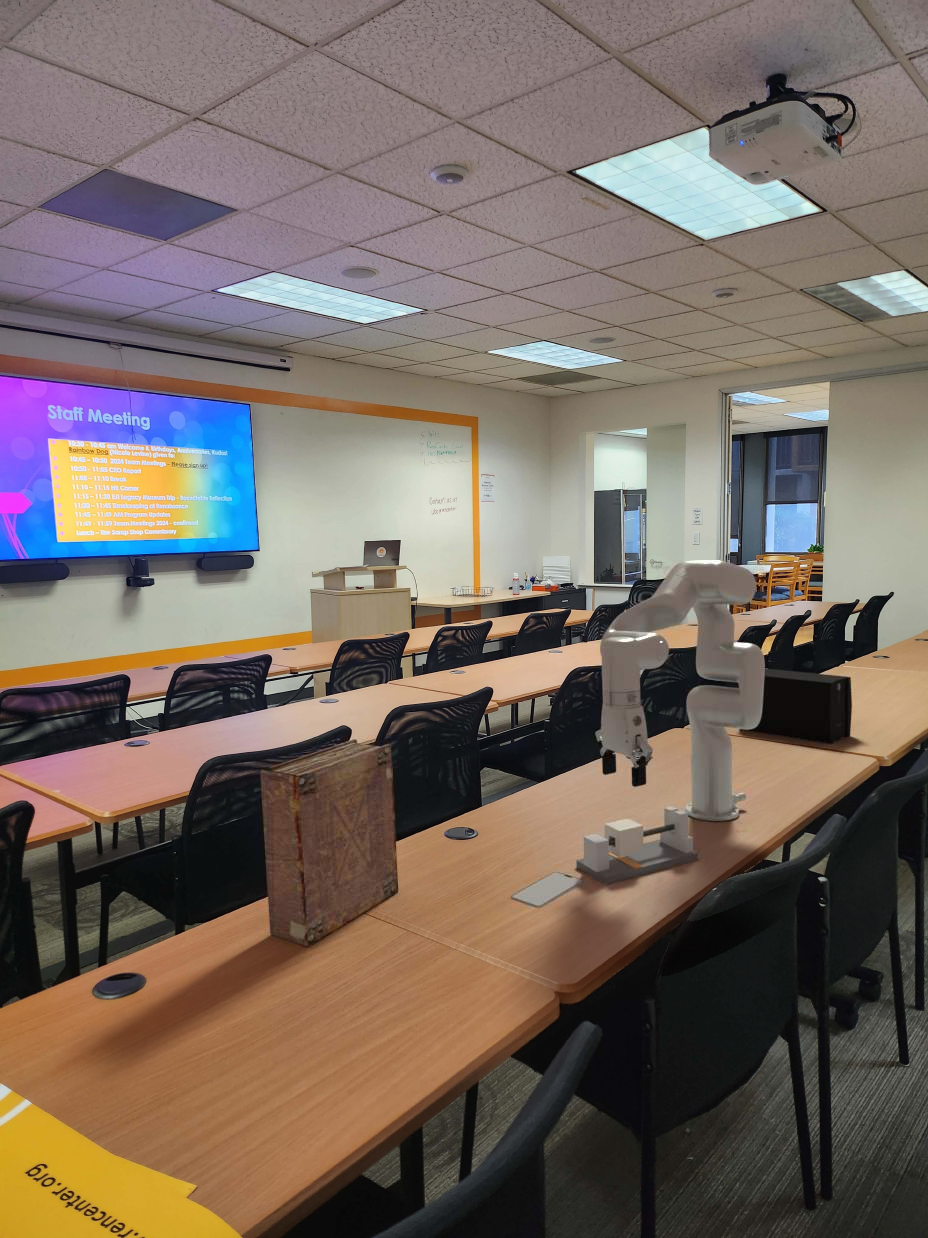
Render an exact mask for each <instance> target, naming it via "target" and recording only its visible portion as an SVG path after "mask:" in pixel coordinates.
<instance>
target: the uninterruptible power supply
mask: <svg viewBox="0 0 928 1238" xmlns="http://www.w3.org/2000/svg"><path fill="white" fill-rule="evenodd" d="M851 678H852V676H845V675H844V676H843V675H835V674H834V675H833V674H823V673H813V672H805V671H804V672H802V671H792V670H782V669H774V668H772V669H771V668H765V676H764V692H763V707H762V716H761V720H760V722H759V724H758V726H756V727H755V728H753V729H740V730H743V731H749V732H753V733H754V732H755V733H760V734H767V735H772V736H773V735H774V736H780V737H784V738H790V739H791V738H792V739H798V740H802V741H803V740H804V741H809V742H816V743H822V744H828V745H832V744H834V743H835V742H836V741H839V740H841V739H844V738H849V737H851V731H852V730H851V729H852V713H853V698H852V696H853V695H852V679H851Z"/></svg>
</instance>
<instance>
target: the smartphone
mask: <svg viewBox="0 0 928 1238" xmlns="http://www.w3.org/2000/svg"><path fill="white" fill-rule="evenodd" d="M583 883H584V880H583V879H581V878H579V877H576V876H572V875H568V874H565V873H561V872H559V871H554V872H551V873H549V874H547V875H546V876H544V877H541V879H538V880H536V881H535V882H533V883H532V884H530V885H528V886H526V887H524V888H522V889H521V890H519V891H517V892H515V893H513V894H512V895H511V896H510V898H511V900H514V901H516V902H519V903H522V904H523V903H524V904H526V905H529V906H532V907H534V908H542V907H544V906H546V905H547V904H549V903H551V902H553V901H555V900H556V899H558V898H560V897H562V896H563V895H565V894H567V893H568V892H570V891H572V890H574V889H575V888H577V887H578V886H580V885H582V884H583Z"/></svg>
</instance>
